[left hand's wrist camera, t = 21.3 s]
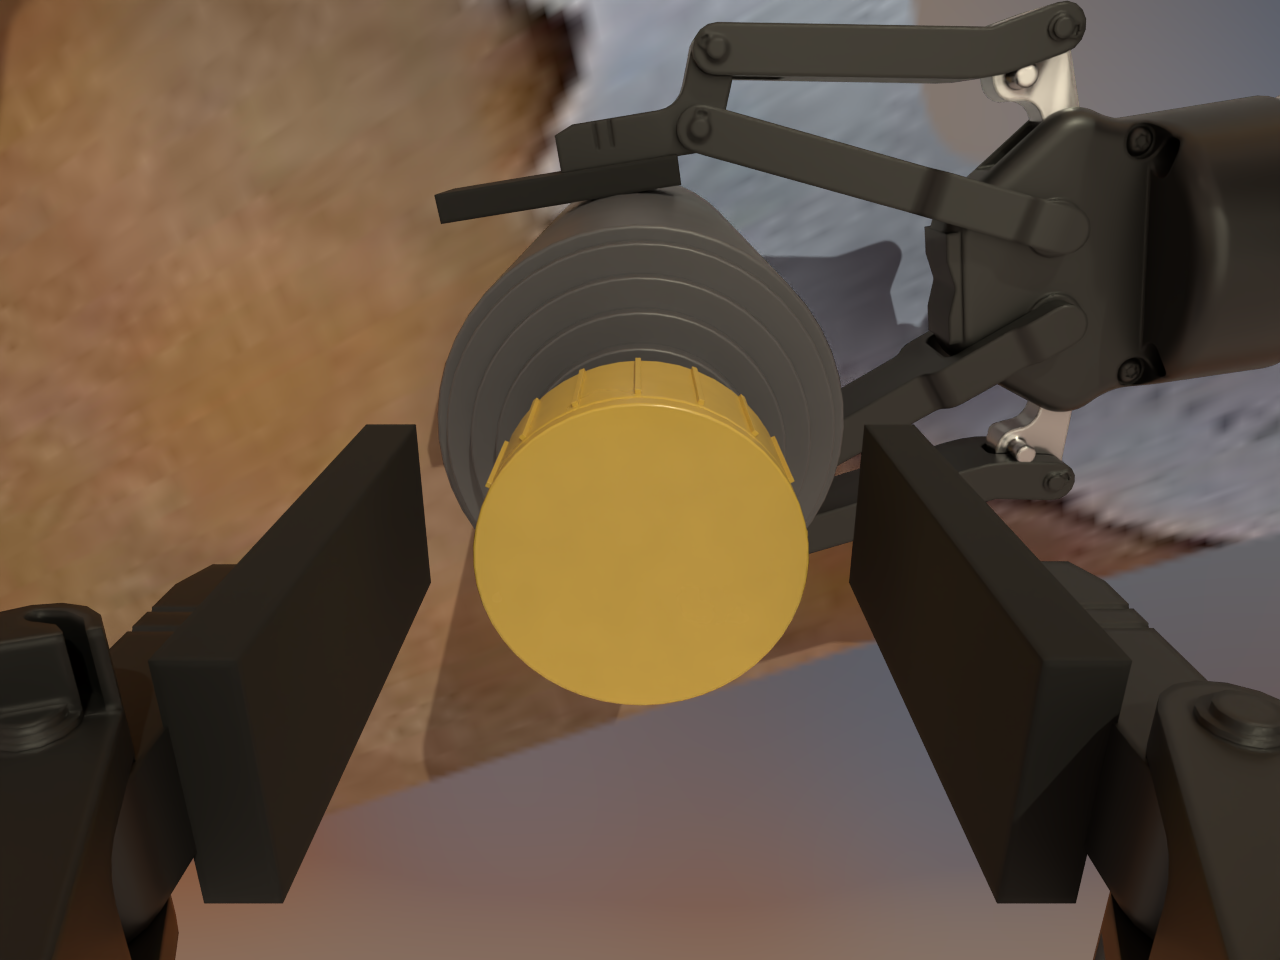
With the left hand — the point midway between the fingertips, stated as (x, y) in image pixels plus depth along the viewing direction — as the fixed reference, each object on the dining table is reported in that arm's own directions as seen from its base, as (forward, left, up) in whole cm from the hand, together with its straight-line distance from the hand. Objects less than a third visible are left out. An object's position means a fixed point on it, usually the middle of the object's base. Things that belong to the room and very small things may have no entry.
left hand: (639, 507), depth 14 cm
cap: (0, 0, +2) cm, 2 cm away
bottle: (0, 0, -20) cm, 20 cm away
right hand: (-5, 0, -13) cm, 14 cm away
